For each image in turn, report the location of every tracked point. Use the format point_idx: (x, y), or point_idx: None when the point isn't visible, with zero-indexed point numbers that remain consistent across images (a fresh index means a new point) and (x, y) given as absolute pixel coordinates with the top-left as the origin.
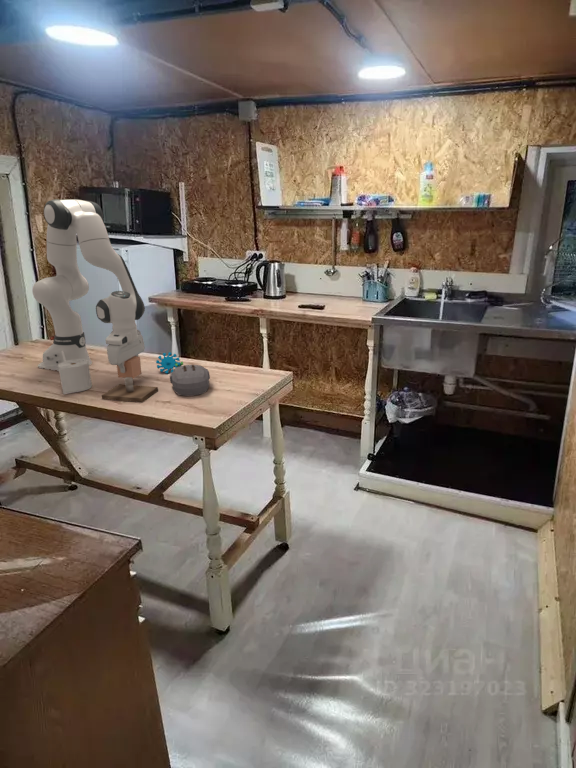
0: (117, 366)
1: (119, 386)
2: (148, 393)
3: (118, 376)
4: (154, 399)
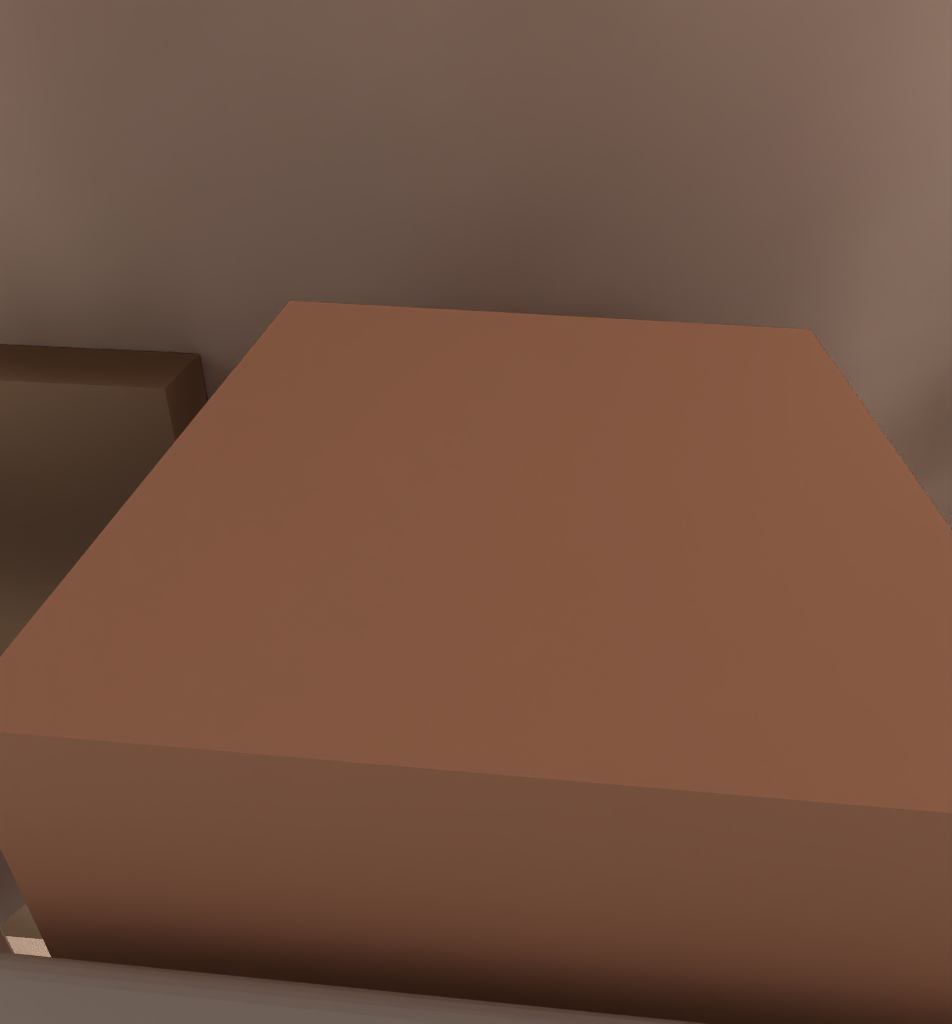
0: (141, 517)
1: (39, 459)
2: (17, 936)
3: (284, 324)
4: (27, 940)
